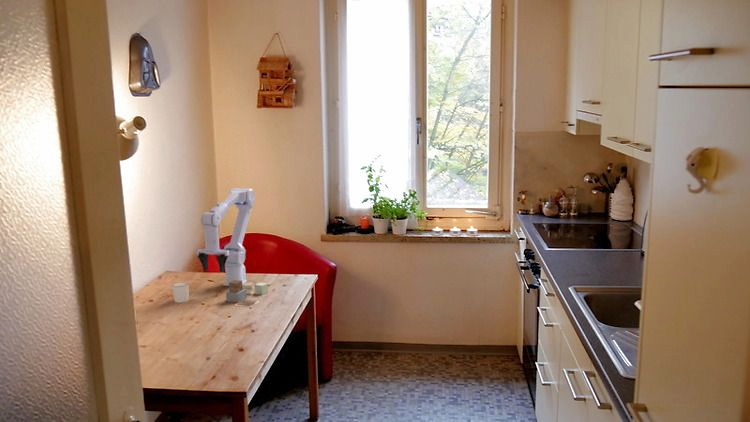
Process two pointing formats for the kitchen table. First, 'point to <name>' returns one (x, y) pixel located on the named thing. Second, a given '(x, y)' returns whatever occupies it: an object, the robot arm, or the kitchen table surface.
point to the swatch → (247, 303)
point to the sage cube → (261, 288)
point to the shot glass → (181, 292)
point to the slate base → (236, 296)
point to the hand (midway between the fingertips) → (213, 270)
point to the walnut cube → (235, 286)
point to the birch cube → (248, 287)
